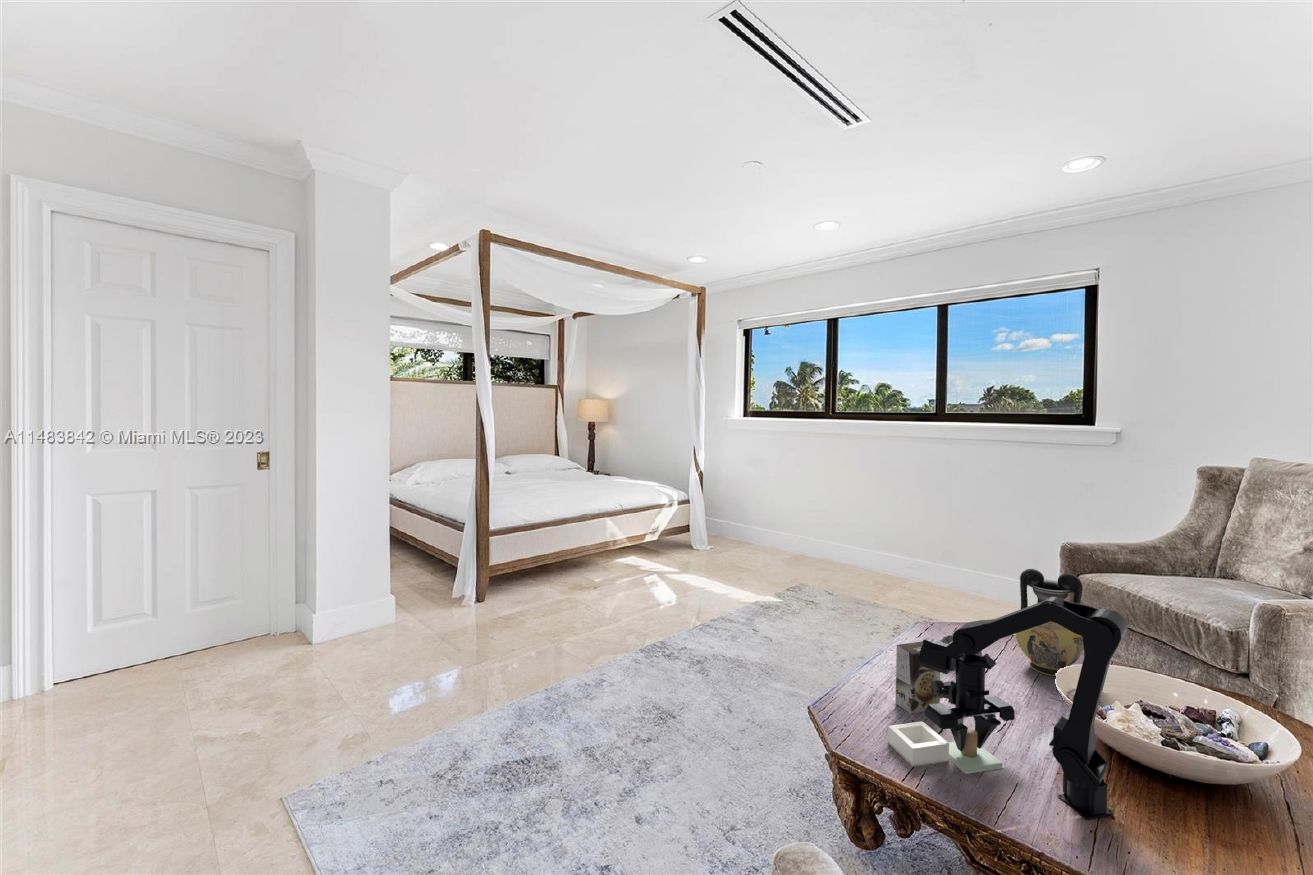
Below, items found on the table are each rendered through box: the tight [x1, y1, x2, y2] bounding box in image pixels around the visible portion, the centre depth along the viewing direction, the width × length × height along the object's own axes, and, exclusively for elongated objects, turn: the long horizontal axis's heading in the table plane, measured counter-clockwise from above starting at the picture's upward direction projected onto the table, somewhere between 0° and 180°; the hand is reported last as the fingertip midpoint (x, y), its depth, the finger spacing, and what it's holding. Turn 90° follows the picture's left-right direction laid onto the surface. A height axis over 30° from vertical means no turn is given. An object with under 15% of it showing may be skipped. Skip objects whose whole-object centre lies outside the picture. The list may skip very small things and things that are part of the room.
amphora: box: [1015, 568, 1084, 677], centre depth 167 cm, size 18×17×30 cm
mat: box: [949, 758, 1006, 775], centre depth 126 cm, size 10×10×1 cm
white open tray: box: [887, 721, 950, 768], centre depth 128 cm, size 9×9×4 cm
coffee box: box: [895, 640, 941, 714], centre depth 148 cm, size 9×6×16 cm
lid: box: [948, 727, 1003, 772], centre depth 126 cm, size 9×9×6 cm
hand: (969, 748), depth 126 cm, fingers open, 4 cm apart
